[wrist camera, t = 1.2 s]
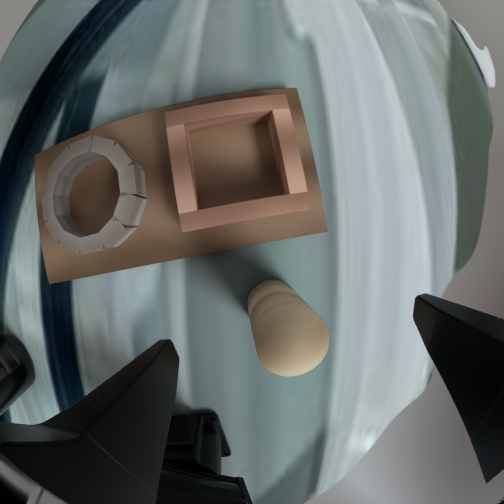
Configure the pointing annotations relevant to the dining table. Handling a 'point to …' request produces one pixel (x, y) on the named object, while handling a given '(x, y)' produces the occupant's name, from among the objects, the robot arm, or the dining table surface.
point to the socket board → (178, 184)
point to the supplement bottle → (13, 371)
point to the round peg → (286, 329)
